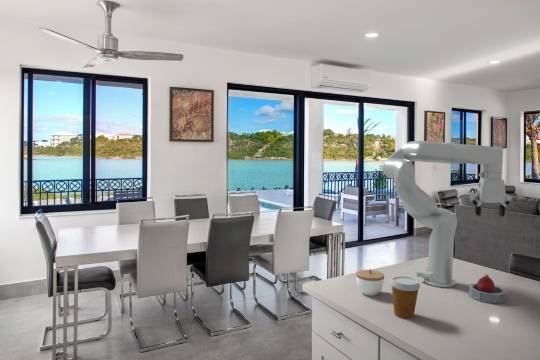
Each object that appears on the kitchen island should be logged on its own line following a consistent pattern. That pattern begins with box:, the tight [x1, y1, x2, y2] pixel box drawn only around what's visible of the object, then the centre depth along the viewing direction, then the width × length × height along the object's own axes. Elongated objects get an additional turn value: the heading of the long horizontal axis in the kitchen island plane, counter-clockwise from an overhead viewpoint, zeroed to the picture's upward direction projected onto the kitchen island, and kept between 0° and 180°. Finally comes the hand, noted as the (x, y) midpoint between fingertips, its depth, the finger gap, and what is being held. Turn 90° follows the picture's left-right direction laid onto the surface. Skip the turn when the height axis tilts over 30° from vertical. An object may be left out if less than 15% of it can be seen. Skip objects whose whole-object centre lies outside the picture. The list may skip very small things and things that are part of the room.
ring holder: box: [468, 282, 507, 305], centre depth 151 cm, size 12×12×4 cm
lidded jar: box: [355, 268, 385, 297], centre depth 155 cm, size 11×11×9 cm
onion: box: [477, 273, 496, 293], centre depth 151 cm, size 6×6×8 cm
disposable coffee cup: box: [389, 275, 421, 319], centre depth 134 cm, size 10×10×12 cm
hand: (489, 215), depth 170 cm, fingers open, 9 cm apart
